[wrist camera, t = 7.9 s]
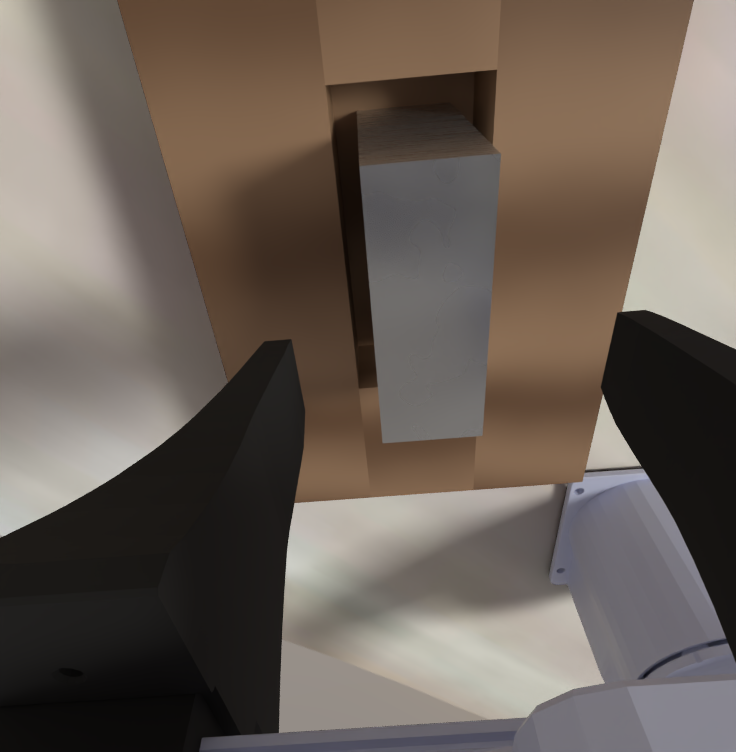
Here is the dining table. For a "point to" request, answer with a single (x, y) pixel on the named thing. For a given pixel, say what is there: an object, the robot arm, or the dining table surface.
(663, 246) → the dining table surface
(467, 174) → the tall grey cuboid
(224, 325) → the well
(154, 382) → the dining table surface
